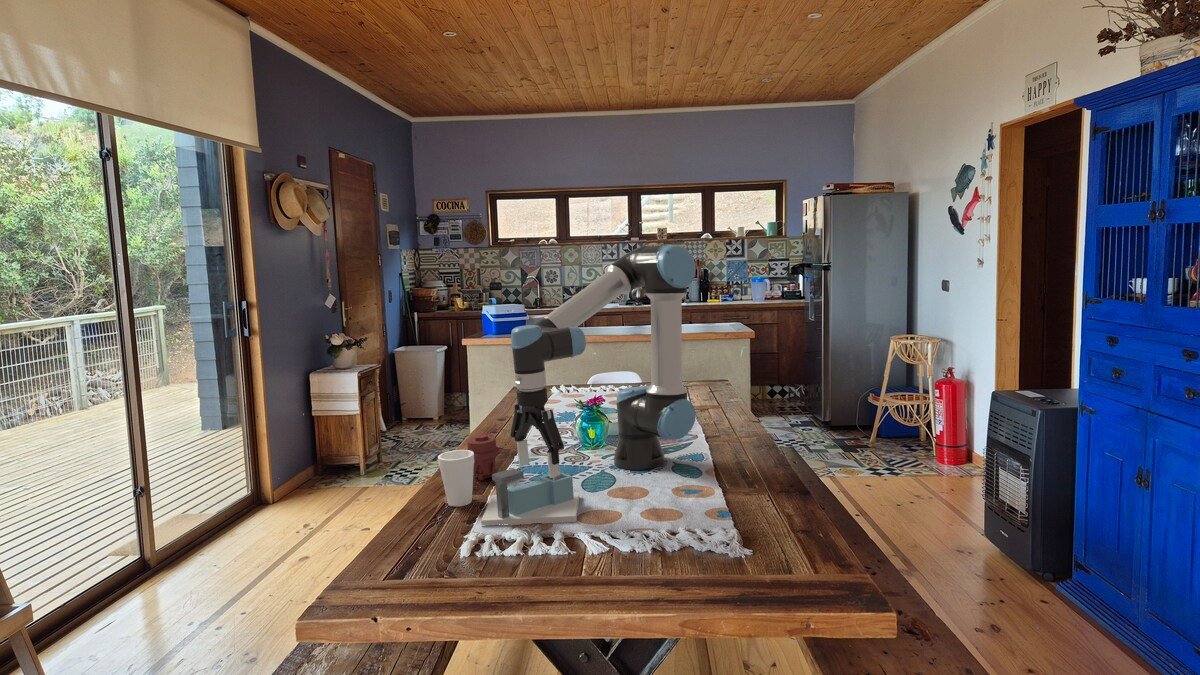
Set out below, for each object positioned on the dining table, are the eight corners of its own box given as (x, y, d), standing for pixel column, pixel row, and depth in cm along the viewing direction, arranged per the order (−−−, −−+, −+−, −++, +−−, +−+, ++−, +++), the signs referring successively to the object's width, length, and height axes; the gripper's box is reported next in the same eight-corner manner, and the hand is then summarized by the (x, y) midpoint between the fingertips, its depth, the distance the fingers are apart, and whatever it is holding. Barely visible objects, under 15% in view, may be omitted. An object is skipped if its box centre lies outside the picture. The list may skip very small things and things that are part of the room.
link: (560, 493, 191) (558, 471, 190) (573, 498, 187) (572, 476, 186) (504, 511, 181) (503, 488, 180) (517, 517, 176) (516, 493, 175)
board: (579, 497, 192) (577, 468, 191) (576, 521, 175) (574, 489, 174) (492, 501, 192) (490, 472, 191) (481, 526, 176) (478, 494, 175)
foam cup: (447, 511, 187) (442, 462, 186) (437, 500, 195) (433, 454, 194) (482, 503, 192) (478, 455, 190) (471, 493, 200) (467, 447, 198)
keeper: (517, 514, 182) (513, 468, 181) (526, 518, 179) (523, 471, 177) (495, 521, 178) (491, 474, 177) (505, 526, 175) (501, 478, 173)
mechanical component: (505, 471, 218) (494, 482, 208) (474, 471, 220) (461, 482, 210) (502, 431, 216) (491, 440, 206) (471, 431, 218) (458, 440, 208)
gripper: (492, 385, 187) (500, 464, 190) (547, 397, 168) (555, 485, 171) (516, 379, 192) (524, 457, 195) (573, 391, 172) (581, 476, 175)
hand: (539, 470), depth 183 cm, fingers open, 13 cm apart
